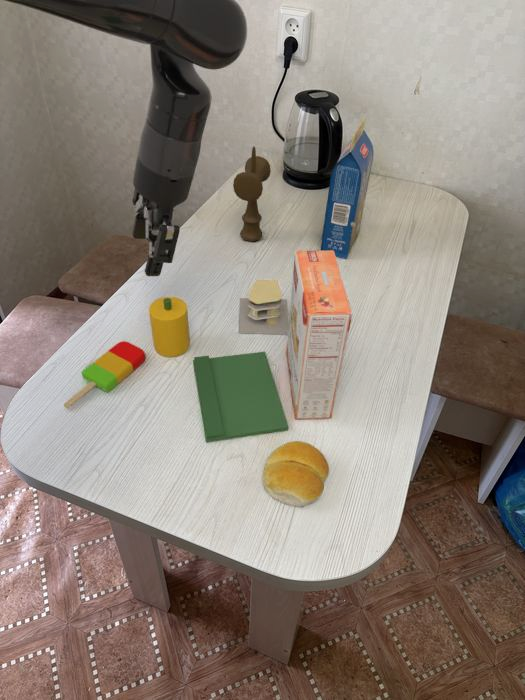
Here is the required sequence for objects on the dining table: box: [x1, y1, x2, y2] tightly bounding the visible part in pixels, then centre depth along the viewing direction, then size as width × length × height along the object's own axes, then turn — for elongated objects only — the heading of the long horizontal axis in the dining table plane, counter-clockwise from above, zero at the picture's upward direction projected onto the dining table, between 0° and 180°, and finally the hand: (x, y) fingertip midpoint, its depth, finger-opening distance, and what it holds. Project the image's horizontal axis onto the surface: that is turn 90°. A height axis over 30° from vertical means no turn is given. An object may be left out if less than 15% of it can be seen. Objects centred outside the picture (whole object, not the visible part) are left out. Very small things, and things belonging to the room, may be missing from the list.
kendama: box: [232, 146, 272, 242], centre depth 105 cm, size 6×10×20 cm, turn 167°
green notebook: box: [192, 351, 289, 443], centre depth 78 cm, size 12×16×1 cm
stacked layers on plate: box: [238, 279, 289, 335], centre depth 90 cm, size 10×9×6 cm
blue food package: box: [319, 115, 375, 259], centre depth 103 cm, size 6×12×25 cm, turn 160°
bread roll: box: [262, 440, 330, 508], centre depth 67 cm, size 8×9×4 cm
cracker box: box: [285, 250, 353, 420], centre depth 73 cm, size 14×6×21 cm, turn 3°
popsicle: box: [63, 340, 146, 409], centre depth 78 cm, size 6×15×2 cm, turn 148°
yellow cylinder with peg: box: [148, 296, 191, 358], centre depth 82 cm, size 6×6×10 cm
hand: (145, 255), depth 77 cm, fingers open, 8 cm apart
